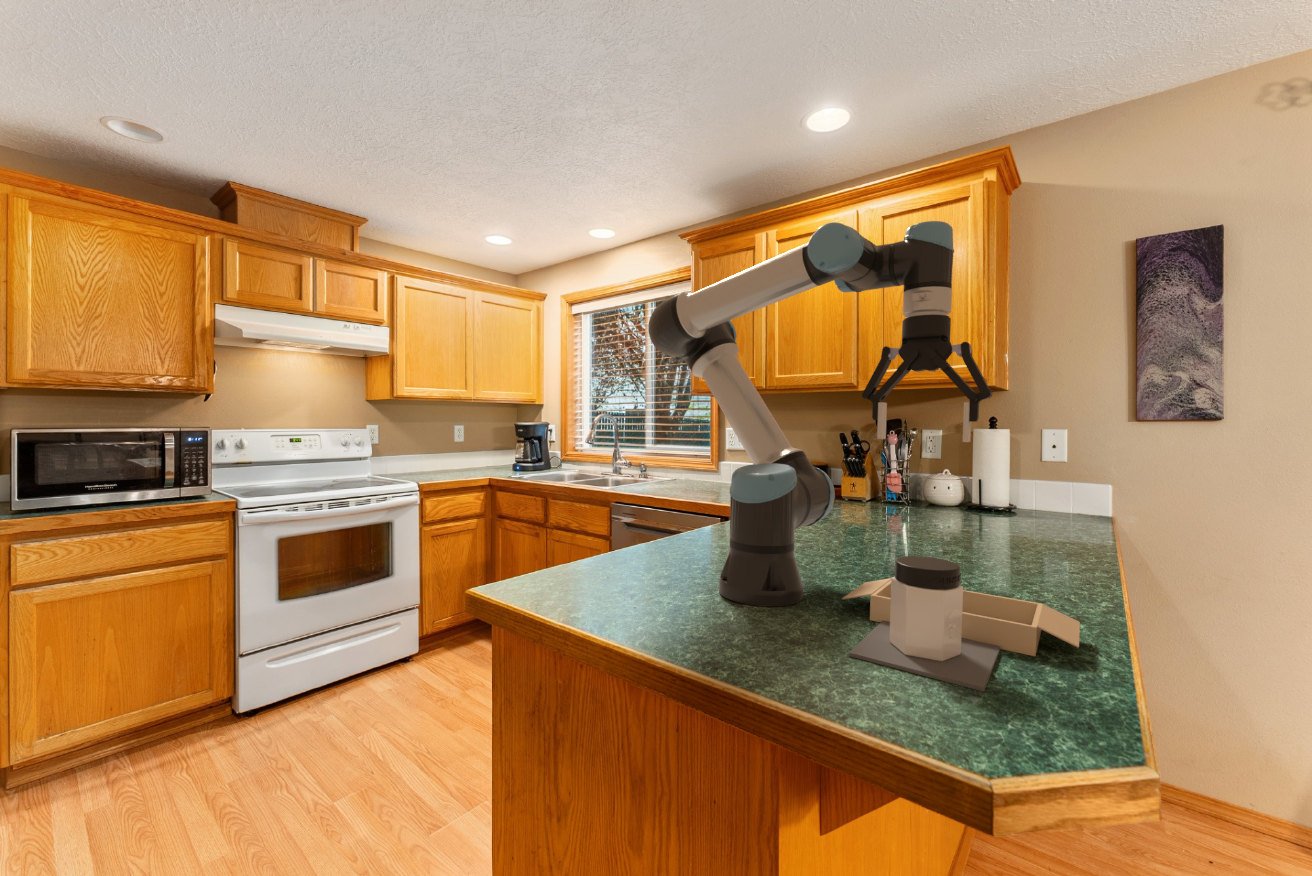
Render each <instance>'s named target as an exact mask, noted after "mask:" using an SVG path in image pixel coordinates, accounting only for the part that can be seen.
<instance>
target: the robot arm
mask: <svg viewBox="0 0 1312 876" xmlns="http://www.w3.org/2000/svg"><path fill="white" fill-rule="evenodd" d="M953 229H954V228H953V227H952V226H951V224H949V223H948V222H945V221H940V220H927V221H922V222H918V223H916V224H912V225H911V226H908V228H907V229H906V231H905V235H904V237H903V240H899V241H897V242H896V241H895V242H893V243H886V244H880V245H876V244H875V243H873V242H872V241H870V240H868V239H867V238H866V237H864V236H863V235H862V234H860V233H859V232H858V231H857V230H856V229H855V228H853V227H851V226H849V225H845V224H843V223H841V222H835V221H834V222H833V221H832V222H829V223H825V224H823V225H821V226H819V227H817V229H816V231H814V233H812V235H811V236H810V238H809V241H808V242H806V243H804V244H801V245H800V246H797V247H795V248H793V249H790V250H788V251H786V252H784V253H780V254H778V255H777V256H774V257H772V258H770V259H767V260H764V261H763V262H761V263H758V264H756V265H754V266H752V267H750V268H747V269H745V270H743V271H741V272H737V273H736V274H734V275H730V276H729V277H727V278H724V279H722V280H720V281H718V282H716V283H713V284H711V285H709V286H706V287H704V288H702V289H699V290H697V291H695V292H691V291H689V290H684V291H682V292H680V293H678V294H676V295H673V296H670V297H669V298H668V299H667V298H666V299H665V300H664V301H662V302H661V303H660V304H658V305H657V306H656V307H655V309H654V310H653V311H652V312H651V315H650V316H649V321H648V325H647V326H648V328H647V329H648V331H647V332H648V336H649V339H650V341H651V343H652V345H653V346H654V347H655V348H656V349H657V350H658V351H659V352H660V353H662V354H664V355H666V356H668V357H674V358H679V359H683V360H684V361H685V363H686V365H687V367H688V369H689V370H690V372H691V374H692V375H693V376H694V377H696V378H700V379H703V381H704V382H705V384H706V386H707V387H708V389H709V390H710V393H711V395H712V396H713V398H714V400H715V401H716V403H717V404H718V407H719V408H720V409H721V411H722V413H723V415H724V416H725V418H726V420H727V422H728V423H729V426H730V427H731V429H732V430H733V431H734V434H735V435H736V437H737V439H738V440H739V442H740V444H741V446H742V447H743V449H744V450H745V453H746V455H747V456H748V458H749V460H750V461H751V462H752V464H747V465H743V466H741V467H737V469H735V470H734V471H733V473H732V474H731V480H730V481H731V482H730V487H729V494H730V497H729V498H730V500H729V502H730V503H729V511H730V512H729V513H730V514H729V549H728V553H727V556H726V559H725V562H724V564H723V567H722V571H721V572H720V576H719V581H718V592H719V594H720V595H721V596H722V597H723V598H725V599H727V600H731V601H732V602H736V603H740V604H743V605H750V606H757V607H759V606H760V607H781V606H789V605H794V604H797V603H799V602H801V601H802V600H803V598H804V582H803V579H802V576H801V573H800V569H799V565H798V562H797V559H796V556H795V540H796V538H795V534H796V530H797V529H800V528H805V527H811V526H813V525H815V524H817V523H818V522H820V521H822V520H824V519H825V518H826V517H827V516H828V515H829V513H830V512H831V511H832V508H833V506H834V501H835V499H836V495H835V494H836V493H835V492H836V491H835V487H834V484H833V483H834V482H833V481H832V480H831V478H830V477H829V475H828V474H827V473H826V472H825V471H824V470H822V469H820V468H818V467H816V466H813V465H812V463H811V461H810V459H809V458H808V457H807V455H806V453H805V451H804V450H803V449H800V448H795V447H793V446H792V445H791V443H790V441H789V439H788V438H787V437H786V435H785V433H784V432H783V430H782V429H781V427H780V426H779V424H778V422H777V421H776V419H775V418H774V416H773V414H772V413H771V411H770V410H769V409H770V408H768V406H767V404H766V402H765V401H764V399H763V398H762V396H761V394H760V393H759V391H758V390H757V388H756V387H755V385H754V383H753V381H752V380H751V378H750V377H749V376H748V374H747V372H746V370H745V369H744V367H743V366H742V364H741V363H740V361H739V359H738V358H737V357H738V354H739V351H740V348H739V346H738V344H737V342H736V339H737V338H738V337H737V331H736V328H735V325H734V323H733V322H732V321H731V320H734V319H737V318H740V317H742V316H744V315H747V314H749V313H753V312H755V311H757V310H760V309H762V308H765V307H768V306H770V305H773V304H775V303H779V302H781V301H784V300H785V299H789V298H791V297H793V296H797V295H798V294H801V293H804V292H807V291H809V290H812V289H813V288H817V287H820V286H822V285H825V284H828V283H831V282H834V284H835V285H836V287H837V289H838V291H840V292H842V293H862V292H864V291H873V290H879V289H885V288H893V287H900V286H903V293H902V294H903V295H902V296H903V297H902V298H903V299H902V315H903V316H904V317H905V318H903V320H902V322H901V323H902V327H901V329H902V331H901V345H900V347H890V346H887V345H886V346H883V347H882V349H881V356H880V359H879V362H878V364H877V366H876V367H875V369H874V371H873V373H872V375H871V376H870V378H869V381H868V382H867V384H866V386H865V387H864V389H863V392H862V394H861V397H862V398H863V399H865V400H869V401H870V402H871V403H872V412H871V413H872V417H871V418H872V420H873V421H877V429H876V430H877V433H876V434H877V435H876V437H877V438H876V439H877V440H887V438H886V437H887V417H888V416H887V414H888V410H887V408H888V407H887V406H888V402H883V401H884V399H885V398H886V397H887V396H888V395H889V394H890V393H891V392H892V391H893V390H894V389H895V387H896V386H897V385H898V384H899V383H900V382H901V381H902V380H903V378H904V377H905V376H907V375H908V374H909V373H910V372H911V371H912V372H917V373H918V372H920V373H921V372H924V371H927V372H936V371H938V370H940V371H942V372H943V373H944V374H945V375H946V376H947V378H948V379H950V381H951V382H952V383H953V384H954V385H955V386H956V387H957V388H958V389H959V390H960V392H961V393H962V394H963V395H965V397H966V398H967V399H968V401H964V402H963V419H962V421H963V422H962V443H971V437H972V436H971V434H972V433H971V432H972V422H973V423H974V422H975V423H976V422H978V421H979V419H980V416H979V415H980V403H981V402H982V401H983V400H986V399H990V398H992V397H993V392H992V390H991V389H990V387H989V385H988V383H987V381H986V379H985V378H984V376H983V373H982V371H981V370H980V367H979V366H978V365H977V362H976V360H975V359H974V357H973V351H972V350H973V349H972V345H971V344H970V343H969V342H968V341H963V342H962V343H958V344H952V342H951V328H952V326H951V325H952V324H951V322H952V318H951V317H950V316H949V314H951V313H952V302H953V301H952V297H953V285H952V284H953V264H954V253H955V249H954V230H953ZM953 352H954V353H956V355H957V356H958V357H961V358H962V361H963V362H964V364H965V366H966V368H967V370H968V372H969V374H970V375H971V377H972V379H973V381H974V383H975V385H976V387H977V389H978V391H979V392H977V393H976V391H975V390H973V388H972V387H971V386H970V385H969V384H968V383H967V382H966V381H965V380H964V379H963V377H962V376H961V375H960V374H959V373H958V372H957V371H956V369H954V368H953V366H951V364H950V363H949V362H948V361H947V360H948V359H949V357H951V356H952V354H953ZM897 356H899V357H900V358H901V359H902V362H901V363H900V365H899V366H898V367H897V369H896V370H895V371H894V372H893V373H892V374H891V375H890V377H889V378H888V379H887V380H886V381H885V382H884V383H883V384H882V386H881V387H880V388H879V389H878V387H879V385H880V384H881V382H882V380H883V378H884V376H885V374H886V373H887V371H888V369H889V367H890V365H891V363H892V361H893V360H895V359H896V357H897ZM877 389H878V390H877Z"/></svg>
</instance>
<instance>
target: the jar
mask: <svg viewBox="0 0 1312 876" xmlns="http://www.w3.org/2000/svg"><path fill="white" fill-rule="evenodd" d="M961 575H962V574H961V566H960V565H958V563H955V562H953V561H950V560H947V559H946V560H945V559H943V558H936V557H931V556H930V557H929V556H922V555H921V556H919V555H917V556H916V555H907V556H899V557H897V558H896V559H895V561H894V576H892V577H890V578H891V607H890V638H889V641H890V643H892V644H893V645H894V646H895V647H896V648H898V649H899V650H900V651H901V652H902V653H904V654H905V655H908V656H913V657H918V658H924V659H929V660H935V661H940V662H942V661H945V660H947V659H950V658H953V657H955V656H958V655H960V654H961V636H962V608H963V590H964V587H963V586H962V585H960V582H961Z"/></svg>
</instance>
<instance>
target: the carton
mask: <svg viewBox="0 0 1312 876" xmlns="http://www.w3.org/2000/svg"><path fill="white" fill-rule="evenodd" d="M891 578H892V577H890V578H884V579H879V580H872V581H865V582H863V583H862V584H861V585H860V586H858V587H856V588H855V589H854V590H852V591H850V592H849V593H848V594H846V595H845V596H844V597H842V600H848V599H853V598H859V597H860V598H861V597H862V598H863V597H867V596H870V601H869V602H870V606H869V620H870V621H874V622H878V623H881V622H882V621H887V622H890V607H891ZM1080 628H1081V621H1079V620H1076V619H1075V618H1073V617H1070V616H1068V615H1066V614H1064V613H1062V612H1060V611H1058V610H1056V609H1054V608H1052V607H1049V606H1047V605H1045V604H1043V603H1040V602H1034V601H1029V600H1023V599H1017V598H1012V597H1011V598H1010V597H1005V596H999V595H994V594H988V593H983V592H982V593H981V592H977V591H971V590H964V589H963V608H962V636H961V638H965V639H970V640H974V641H979V642H984V643H988V644H993V645H997V646H1000V650H1004V651H1008V652H1013V653H1019V654H1023V655H1028V656H1032V657H1036V654H1037V652H1038V647H1039V642H1040V638H1041V633H1042V631H1044V632H1045V633H1047V634H1050V635H1052V636H1054V637H1056V638H1057V639H1060V640H1061V641H1064V642H1066V643H1068V644H1070V645H1072V646H1073V647H1075V648H1077V649H1079V647H1080V632H1081V631H1080V630H1081V629H1080Z"/></svg>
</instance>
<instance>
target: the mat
mask: <svg viewBox="0 0 1312 876" xmlns="http://www.w3.org/2000/svg"><path fill="white" fill-rule="evenodd" d="M889 638H890V622H887V621H882V622H879V623H878V624H877V625H876V626H875V627H874V628H873V629H872V630H871V631H870V632H869V633H868V634H867V635H866V636H865V637H863V639H862V640H861V641H859V642H858V643H857V644H856V645H855V646H854V647H853V648H852V649H851V650H850V651H849V652H848V657H851V658H855V659H860V660H863V661H865V662H866V661H867V662H870V663H873V664H877V665H881V666H885V667H889V668H892V669H897V670H900V671H904V672H907V673H912V674H916V675H919V676H924V677H927V678H930V679H935V680H938V681H942V682H946V683H950V684H953V685H957V686H960V687H965V688H968V689H971V690H976V691H980V692H985V689H986V687H987V684H988V682H989V680H990V677H991V674H992V672H993V669H994V667H995V664H996V662H997V660H998V657H999V654H1000V651H1001V649H1000V646H997V645H993V644H988V643H984V642H979V641H974V640H970V639H965V638H961V654H960V655H958V656H955V657H953V658H950V659H947V660H945V661H942V662H940V661H935V660H929V659H924V658H918V657H913V656H908V655H905V654H904V653H902V652H901V651H900V650H899V649H898V648H896V647H895V646H894V645H893V644H892V643H890V641H889Z"/></svg>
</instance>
